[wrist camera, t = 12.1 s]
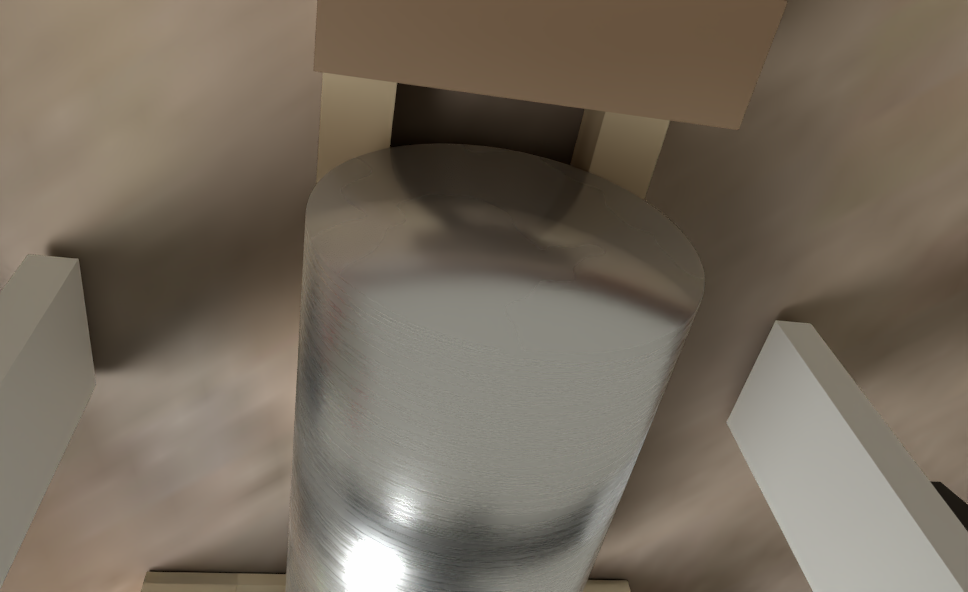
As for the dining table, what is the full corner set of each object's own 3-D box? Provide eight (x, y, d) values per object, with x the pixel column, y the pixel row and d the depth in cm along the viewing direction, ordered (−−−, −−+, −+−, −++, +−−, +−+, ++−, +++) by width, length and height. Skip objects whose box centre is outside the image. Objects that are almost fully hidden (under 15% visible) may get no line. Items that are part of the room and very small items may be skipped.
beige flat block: (555, 738, 24) (586, 916, 20) (165, 746, 22) (120, 948, 18) (898, -15, 11) (1141, 90, 8) (66, -169, 9) (-147, -127, 6)
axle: (520, 598, 18) (530, 842, 14) (306, 574, 17) (250, 820, 13) (662, 175, 12) (756, 384, 8) (342, 121, 11) (258, 312, 7)
